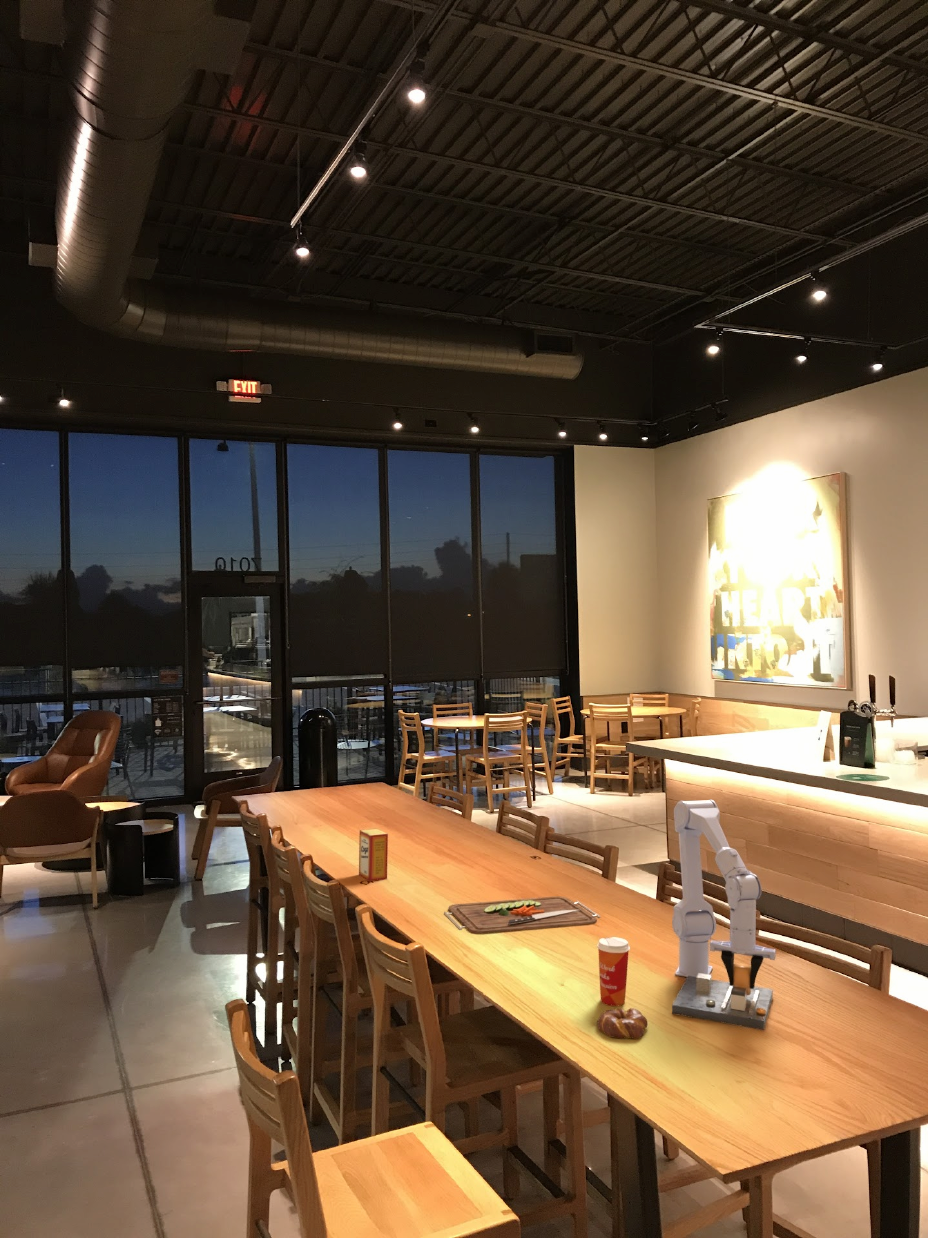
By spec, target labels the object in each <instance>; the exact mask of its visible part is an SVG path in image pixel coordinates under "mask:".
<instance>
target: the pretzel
mask: <svg viewBox="0 0 928 1238" xmlns="http://www.w3.org/2000/svg"><path fill="white" fill-rule="evenodd" d="M648 1025H649V1024H648V1020H647V1018H646V1016H645V1015H643V1013H642V1012H641V1011H640V1010H639V1009H636V1008H632V1007H631V1008H629V1009H627V1010H625V1009H624V1008H615V1009H607V1010H605V1011H603V1012H602V1013H601V1014H600V1015H599V1017H598V1019H597V1025H596V1026H597V1027H598V1029H599V1030H600V1032H602V1033H603V1034H605V1035H607V1036H608V1037H611V1038H614V1039H632V1040H633V1039H634V1040H635V1039H639V1038H641V1037H642V1036H643V1034H644V1030H646V1029H647V1028H648Z"/></svg>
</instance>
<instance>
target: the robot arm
mask: <svg viewBox="0 0 928 1238" xmlns="http://www.w3.org/2000/svg"><path fill="white" fill-rule="evenodd" d="M720 813H721V811H720V809H719V806H718V805H717V803H716V801H714V800H713V799H708V800H707V799H706V800H705V799H704V800H679V801H677V803H676V805H675V806H674V808H673V819H674V831H675V832H676V833H678V842H679V857H680V860H679V861H680V872H681V884H682V886H681V887H682V890H681V891H682V899H680V901H679V902H678V903H676V904H675V905H674V906H673V914H672V921H671V924H672V925H671V926H672V930H673V932H674V934H675V936H676V937H678V938H679V942H678V944H679V945H678V947H679V948H678V951H679V952H678V956H679V957H678V967H677V968H676V971H675V972H674V975H675V976H679V977H686V978H687V976H693V977H697V975H698V973H701V974H708V975H711V972H712V970H713V966H712V965H710V964H709V963H710V961H709V959H710V952H721V953H720V958H721V962H722V963H723V965H724V968H725V970H726V973H727V977H728V982H730V985H731V986H733V965H734V964H735V954H736V955H741V956H743V955H744V956H748V957H749V956H750V957H751V958H750V966H751V983H750V989H754V986H755V985H756V984H755V983H756V980H757V979H756V978H757V975H758V972H759V971H760V968H761V965H762V964H763V963H764V962H763V961H764V959H769V960H771V961H776V956H777V955H776V951H777V950H776V949H775V948H769V947H765V946H761V945H758V944H756V928H757V926H756V923H757V920H756V919H757V918H756V916H757V915H756V914H757V911H756V910H757V906H756V905H757V900H759V899H760V897H761V895H762V884H761V882H760V879H759V877H758V875H756V874H755V873H753V872H752V871H751V870H748V868H747V866H746V865H745V863H744V861H743V859H742V857H741V855H740V854H739V852H738V851H737V849H735V848H733V847H730V845H729V842H728V839H727V838H726V835H725V833H724V830H723V829H722V827H721V824H720V819H721V814H720ZM702 834H703V835H704V836H705V838H706V839H707V841H708V843H709V844H710V846H711V847H712V849H713V851H714V852H715V853H716V854H715V857H714V861H715V863H716V866H717V868H718V869H719V871H720V873H721V875H722V877H723V878H724V880H725V885H724V890H725V894H726V897H727V904H728V907H729V908H730V909H729V940H728V941H726V940H725V941H724V940H713V939H712V936H713V935H714V934H715V932H716V930H717V922H716V918H715V915H714V909H713V905H712V904H710V903H709V902H708V901H706V900H705V899H704V887H703V885H704V884H703V872H702V860H701V859H702V858H701V857H702V856H701V843H700V841H701V840H700V837H701V835H702ZM709 940H710V942H709Z"/></svg>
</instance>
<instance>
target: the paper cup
mask: <svg viewBox="0 0 928 1238" xmlns="http://www.w3.org/2000/svg"><path fill="white" fill-rule="evenodd" d="M596 948H597V949H598V970H599V972H598V973H599V991H600V992H599V993H600V1001H601V1004H604V1005H605V1006H609V1007H610V1006H611V1007H619V1006H624V1004H625V1001H626V992H627V981H628V967H629V966H628V963H629V952H630V950H631V947H630V944H629V942H628V941H627V940H626V939H625V938H621V937H616V936H615V937H614V936H611V937H604V938H603V937H601V938H600V939H599V940H598V943H597V945H596Z"/></svg>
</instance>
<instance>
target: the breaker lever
mask: <svg viewBox="0 0 928 1238" xmlns="http://www.w3.org/2000/svg"><path fill="white" fill-rule="evenodd" d="M745 1008H746V988H741V987H735V986H733V987H732V990H731V1009H736V1010H742V1011H745Z"/></svg>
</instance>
